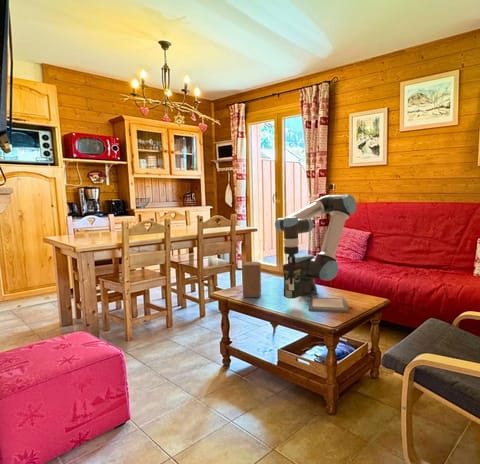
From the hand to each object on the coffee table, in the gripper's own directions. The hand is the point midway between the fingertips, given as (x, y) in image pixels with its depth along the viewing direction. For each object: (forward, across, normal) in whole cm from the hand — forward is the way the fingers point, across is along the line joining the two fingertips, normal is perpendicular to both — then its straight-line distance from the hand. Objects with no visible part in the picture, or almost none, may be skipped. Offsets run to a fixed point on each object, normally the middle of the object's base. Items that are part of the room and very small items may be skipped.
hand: (292, 287), depth 187 cm
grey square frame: (+11, -6, +19) cm, 23 cm away
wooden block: (+11, -19, -25) cm, 33 cm away
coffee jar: (+5, 0, 0) cm, 5 cm away
